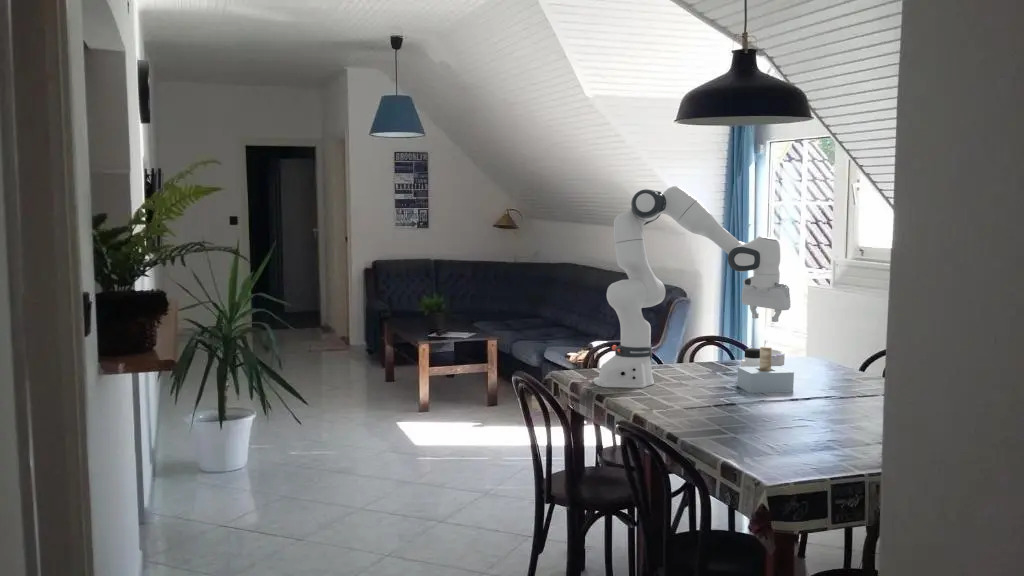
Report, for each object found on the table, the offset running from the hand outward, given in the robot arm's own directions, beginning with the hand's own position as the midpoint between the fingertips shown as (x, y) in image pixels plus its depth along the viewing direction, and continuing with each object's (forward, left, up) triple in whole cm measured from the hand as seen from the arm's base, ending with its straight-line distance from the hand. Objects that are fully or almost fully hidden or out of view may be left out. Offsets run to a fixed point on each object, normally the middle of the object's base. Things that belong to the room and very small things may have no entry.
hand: (765, 320), depth 317 cm
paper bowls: (+15, +31, -25) cm, 43 cm away
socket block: (+1, -1, -25) cm, 25 cm away
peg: (0, -1, -24) cm, 24 cm away
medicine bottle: (+3, +15, -25) cm, 30 cm away
